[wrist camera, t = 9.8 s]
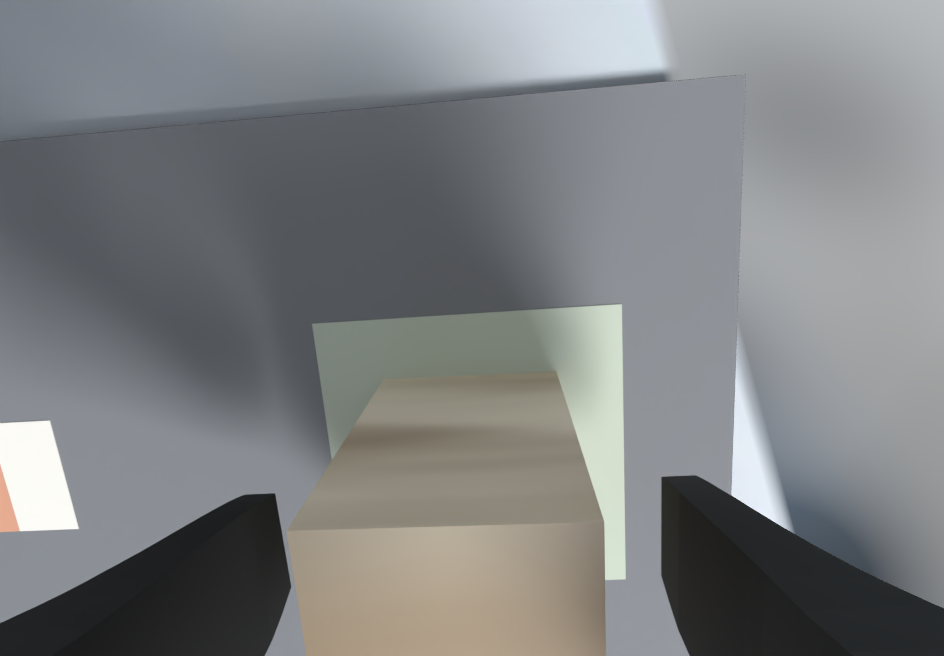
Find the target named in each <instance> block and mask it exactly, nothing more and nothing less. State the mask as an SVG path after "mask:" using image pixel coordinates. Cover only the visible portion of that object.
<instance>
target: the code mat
mask: <svg viewBox="0 0 944 656" xmlns="http://www.w3.org/2000/svg"><path fill="white" fill-rule="evenodd" d="M745 79H746V75H734V76H722V77H711V78H700V79H689V80H678V81H667V82H656V83H645V84H633V85H622V86H611V87H600V88H589V89H578V90H567V91H556V92H545V93H534V94H522V95H511V96H500V97H489V98H478V99H467V100H456V101H445V102H434V103H422V104H411V105H400V106H389V107H378V108H367V109H356V110H345V111H334V112H323V113H311V114H300V115H289V116H278V117H267V118H256V119H245V120H234V121H223V122H211V123H200V124H189V125H178V126H167V127H156V128H145V129H134V130H123V131H112V132H100V133H89V134H78V135H67V136H56V137H45V138H34V139H23V140H12V141H0V623H1V622H4V621H6V620H8V619H10V618H12V617H14V616H17V615H19V614H21V613H23V612H25V611H27V610H30V609H32V608H34V607H36V606H38V605H40V604H42V603H44V602H46V601H48V600H51V599H53V598H55V597H57V596H59V595H61V594H63V593H65V592H67V591H69V590H71V589H73V588H74V587H76V586H78V585H80V584H82V583H84V582H86V581H88V580H89V579H91V578H93V577H95V576H97V575H99V574H100V573H102V572H104V571H106V570H108V569H110V568H112V567H113V566H115V565H117V564H119V563H121V562H123V561H124V560H126V559H128V558H130V557H132V556H134V555H135V554H137V553H139V552H141V551H143V550H144V549H146V548H148V547H150V546H151V545H153V544H155V543H156V542H158V541H160V540H162V539H163V538H165V537H167V536H169V535H170V534H172V533H174V532H175V531H177V530H179V529H181V528H182V527H184V526H186V525H188V524H189V523H191V522H193V521H195V520H196V519H198V518H200V517H201V516H203V515H205V514H207V513H209V512H210V511H212V510H214V509H216V508H218V507H219V506H221V505H223V504H225V503H227V502H229V501H231V500H233V499H235V498H238V497H240V496H242V495H247V494H270V493H275V495H276V501H277V507H278V513H279V518H280V524H281V530H282V536H283V541H284V547H285V553H286V559H287V564H288V570H289V576H290V582H291V590H290V592H289V595H288V598H287V601H286V604H285V607H284V610H283V613H282V616H281V619H280V621H279V624H278V627H277V629H276V632H275V635H274V637H273V640H272V642H271V644H270V646H269V648H268V650H267V652H266V654H265V656H306V651H305V645H304V638H303V632H302V626H301V620H300V613H299V607H298V601H297V595H296V588H295V582H294V576H293V569H292V563H291V557H290V551H289V544H288V538H287V532H286V531H287V529H288V528H289V526H290V524H291V523H292V521H293V520H294V518H295V517H296V515H297V514H298V512H299V510H300V509H301V507H302V506H303V504H304V503H305V501H306V500H307V498H308V496H309V495H310V493H311V492H312V490H313V489H314V487H315V486H316V484H317V482H318V481H319V479H320V478H321V476H322V475H323V473H324V472H325V470H326V468H327V467H328V465H329V464H330V462H331V461H332V459H333V458H334V456H335V454H336V453H337V451H338V450H339V448H340V447H341V445H342V443H343V442H344V440H345V439H346V437H347V436H348V434H349V433H350V431H351V429H352V428H353V426H354V425H355V423H356V422H357V420H358V419H359V417H360V415H361V414H362V412H363V411H364V409H365V408H366V406H367V405H368V403H369V401H370V400H371V398H372V397H373V395H374V394H375V392H376V391H377V389H378V387H379V386H380V384H381V383H382V381H383V380H384V379H400V378H422V377H444V376H466V375H487V374H509V373H531V372H553V371H557V375H558V378H559V381H560V384H561V387H562V390H563V393H564V397H565V400H566V403H567V406H568V409H569V412H570V415H571V419H572V422H573V425H574V428H575V431H576V434H577V437H578V441H579V444H580V447H581V450H582V453H583V456H584V459H585V463H586V466H587V469H588V472H589V475H590V478H591V481H592V485H593V488H594V491H595V494H596V497H597V500H598V503H599V507H600V510H601V513H602V516H603V519H604V531H605V621H606V656H690V655H689V653H688V651H687V649H686V646H685V644H684V642H683V640H682V637H681V635H680V633H679V631H678V628H677V625H676V622H675V619H674V616H673V612H672V609H671V606H670V603H669V600H668V596H667V593H666V590H665V586H664V583H663V580H662V577H661V477H667V476H690V475H696V476H699V477H700V478H702V479H704V480H706V481H708V482H710V483H711V484H713V485H715V486H716V487H718V488H720V489H721V490H723V491H725V492H726V493H728V494H729V495H731V485H732V456H733V428H734V399H735V370H736V341H737V312H738V284H739V253H740V226H741V198H742V197H741V196H742V168H743V140H744V139H743V138H744V110H745V81H746V80H745Z"/></svg>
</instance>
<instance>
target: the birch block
mask: <svg viewBox="0 0 944 656" xmlns="http://www.w3.org/2000/svg"><path fill="white" fill-rule="evenodd" d="M286 532H287V538H288V544H289V551H290V557H291V563H292V569H293V576H294V582H295V588H296V595H297V601H298V607H299V613H300V620H301V626H302V632H303V638H304V645H305V651H306V656H606V621H605V531H604V519H603V516H602V513H601V510H600V507H599V503H598V500H597V497H596V494H595V491H594V488H593V485H592V481H591V478H590V475H589V472H588V469H587V466H586V463H585V459H584V456H583V453H582V450H581V447H580V444H579V441H578V437H577V434H576V431H575V428H574V425H573V422H572V419H571V415H570V412H569V409H568V406H567V403H566V400H565V397H564V393H563V390H562V387H561V384H560V381H559V378H558V375H557V371H553V372H531V373H509V374H487V375H466V376H444V377H422V378H400V379H384V380H383V381H382V383H381V384H380V386H379V387H378V389H377V391H376V392H375V394H374V395H373V397H372V398H371V400H370V401H369V403H368V405H367V406H366V408H365V409H364V411H363V412H362V414H361V415H360V417H359V419H358V420H357V422H356V423H355V425H354V426H353V428H352V429H351V431H350V433H349V434H348V436H347V437H346V439H345V440H344V442H343V443H342V445H341V447H340V448H339V450H338V451H337V453H336V454H335V456H334V458H333V459H332V461H331V462H330V464H329V465H328V467H327V468H326V470H325V472H324V473H323V475H322V476H321V478H320V479H319V481H318V482H317V484H316V486H315V487H314V489H313V490H312V492H311V493H310V495H309V496H308V498H307V500H306V501H305V503H304V504H303V506H302V507H301V509H300V510H299V512H298V514H297V515H296V517H295V518H294V520H293V521H292V523H291V524H290V526H289V528H288V529H287V531H286Z"/></svg>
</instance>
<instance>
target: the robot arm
mask: <svg viewBox="0 0 944 656" xmlns="http://www.w3.org/2000/svg"><path fill="white" fill-rule="evenodd" d="M661 577H662V580H663V583H664V586H665V590H666V593H667V596H668V600H669V603H670V606H671V609H672V612H673V616H674V619H675V622H676V625H677V628H678V631H679V633H680V635H681V637H682V640H683V642H684V644H685V646H686V649H687V651H688V653H689V655H690V656H944V608H941V607H939V606H937V605H934V604H932V603H930V602H928V601H925V600H923V599H921V598H919V597H917V596H915V595H912V594H910V593H908V592H906V591H904V590H901V589H899V588H897V587H895V586H893V585H890V584H888V583H886V582H884V581H882V580H880V579H878V578H876V577H874V576H872V575H869V574H867V573H865V572H863V571H861V570H859V569H857V568H855V567H853V566H852V565H849V564H848V563H846V562H844V561H842V560H840V559H839V558H836V557H835V556H832V555H831V554H829V553H827V552H826V551H824V550H822V549H819V548H818V547H816V546H814V545H813V544H810V543H809V542H807V541H805V540H804V539H802V538H800V537H799V536H797V535H795V534H793V533H792V532H790V531H788V530H787V529H785V528H783V527H781V526H780V525H778V524H776V523H775V522H773V521H771V520H770V519H768V518H766V517H765V516H763V515H762V514H760V513H758V512H757V511H755V510H753V509H752V508H750V507H749V506H747V505H745V504H744V503H742V502H741V501H739V500H737V499H736V498H734V497H733V496H731V495H729V494H728V493H726V492H725V491H723V490H721V489H720V488H718V487H716V486H715V485H713V484H711V483H710V482H708V481H706V480H704V479H702V478H700V477H699V476H696V475H690V476H667V477H661ZM290 590H291V582H290V576H289V570H288V564H287V559H286V553H285V547H284V541H283V536H282V530H281V524H280V518H279V513H278V507H277V501H276V495H275V493H270V494H247V495H242V496H240V497H238V498H235V499H233V500H231V501H229V502H227V503H225V504H223V505H221V506H219V507H218V508H216V509H214V510H212V511H210V512H209V513H207V514H205V515H203V516H201V517H200V518H198V519H196V520H195V521H193V522H191V523H189V524H188V525H186V526H184V527H182V528H181V529H179V530H177V531H175V532H174V533H172V534H170V535H169V536H167V537H165V538H163V539H162V540H160V541H158V542H156V543H155V544H153V545H151V546H150V547H148V548H146V549H144V550H143V551H141V552H139V553H137V554H135V555H134V556H132V557H130V558H128V559H126V560H124V561H123V562H121V563H119V564H117V565H115V566H113V567H112V568H110V569H108V570H106V571H104V572H102V573H100V574H99V575H97V576H95V577H93V578H91V579H89V580H88V581H86V582H84V583H82V584H80V585H78V586H76V587H74V588H73V589H71V590H69V591H67V592H65V593H63V594H61V595H59V596H57V597H55V598H53V599H51V600H48V601H46V602H44V603H42V604H40V605H38V606H36V607H34V608H32V609H30V610H27V611H25V612H23V613H21V614H19V615H17V616H14V617H12V618H10V619H8V620H6V621H4V622H1V623H0V656H265V654H266V652H267V650H268V648H269V646H270V644H271V642H272V640H273V637H274V635H275V632H276V629H277V627H278V624H279V621H280V619H281V616H282V613H283V610H284V607H285V604H286V601H287V598H288V595H289V592H290Z"/></svg>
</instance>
